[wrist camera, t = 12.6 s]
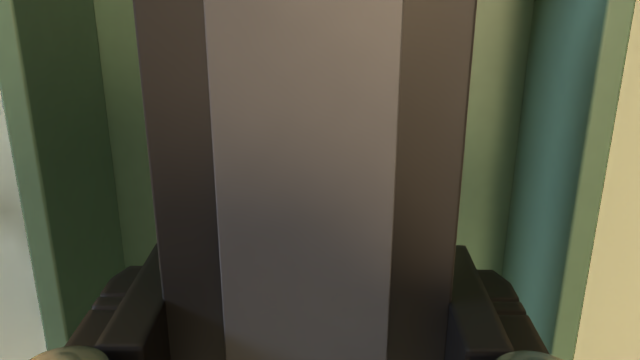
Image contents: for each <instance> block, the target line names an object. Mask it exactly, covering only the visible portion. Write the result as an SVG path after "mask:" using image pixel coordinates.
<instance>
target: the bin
mask: <svg viewBox="0 0 640 360" xmlns="http://www.w3.org/2000/svg"><path fill="white" fill-rule="evenodd" d="M635 1H636V0H477V10H476V22H475V33H474V45H473V56H472V68H471V80H470V91H469V103H468V114H467V126H466V137H465V149H464V160H463V172H462V183H461V195H460V206H459V218H458V229H457V241H456V245H465V246H466V248H467V250H468V252H469V254H470V256H471V258H472V260H473V263H474V265H475V267H476V269H477V270H494V271H495V272H496V273H498V274H499V275H500V276H502V277H503V278H504V279H506V280H507V281H508V282H510V283H511V285H512V287H513V288H514V290H515V292H516V294H517V296H518V297H519V302H521V303H522V305H523V307H524V308H525V310H526V315H528V316H529V317H530V319H531V321H532V323H533V325H534V327H535V328H536V330H537V332H538V334H539V336H540V337H541V339H542V341H543V343H544V345H545V347H546V348H547V350H548V352H549V354H550V355H553V356H556V357H558V358H560V359H563V360H573V359H574V353H575V347H576V341H577V336H578V330H579V324H580V318H581V312H582V307H583V301H584V295H585V289H586V284H587V278H588V272H589V266H590V261H591V255H592V249H593V243H594V237H595V232H596V226H597V220H598V214H599V209H600V203H601V197H602V191H603V186H604V180H605V174H606V168H607V163H608V157H609V151H610V145H611V139H612V134H613V128H614V122H615V116H616V111H617V105H618V99H619V93H620V88H621V82H622V76H623V70H624V64H625V59H626V53H627V47H628V41H629V36H630V30H631V24H632V18H633V13H634V7H635ZM0 90H1V96H2V101H3V107H4V113H5V118H6V124H7V129H8V135H9V141H10V146H11V152H12V157H13V163H14V168H15V174H16V180H17V185H18V191H19V196H20V202H21V208H22V213H23V219H24V224H25V230H26V236H27V241H28V247H29V252H30V258H31V263H32V269H33V275H34V280H35V286H36V291H37V297H38V303H39V308H40V314H41V319H42V325H43V330H44V336H45V342H46V347H47V351H49V350H52V349H55V348H60V347H64V346H65V345H66V343H67V342H68V340H69V339H70V337H71V336H72V334H73V333H74V332H75V330H76V329H77V327H78V326H79V324H80V323H81V321H82V320H83V318H84V317H85V315H86V314H87V312H88V311H89V310H91V308H92V307H91V306H92V305H93V304H94V302H95V301H96V299H97V298H98V297H100V293H101V292H102V290H103V289H104V287H105V286H106V284H107V283H108V281H109V280H110V279H111V278H112V277H114V276H115V275H117V274H118V273H120V272H121V271H123V270H124V269H126V268H127V267H129V266H143V264H144V263H145V261H146V259H147V258H148V256H149V254H150V253H151V251H152V249H153V248H154V246H155V245H156V243H157V238H156V228H155V218H154V208H153V198H152V188H151V178H150V169H149V159H148V149H147V139H146V129H145V119H144V110H143V100H142V90H141V80H140V70H139V60H138V50H137V41H136V31H135V21H134V11H133V1H132V0H0Z"/></svg>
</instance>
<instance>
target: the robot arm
mask: <svg viewBox="0 0 640 360" xmlns="http://www.w3.org/2000/svg"><path fill="white" fill-rule="evenodd" d="M91 307H92V308H91V310H89V311H88V312H87V314H86V315H85V317H84V318H83V320H82V321H81V323H80V324H79V326H78V327H77V329H76V330H75V332H74V333H73V334H72V336H71V337H70V339H69V340H68V342H67V343H66V345H65V346H64V347H60V348H55V349H52V350H49V351H46V352H43V353H41V354H39V355H37V356H35V357H33V358H31V359H30V360H171V357H170V346H169V336H168V326H167V316H166V306H165V300H163V297H162V287H161V277H160V267H159V257H158V247H157V243H156V245H155V246H154V248H153V249H152V251H151V253H150V254H149V256H148V258H147V259H146V261H145V263H144V264H143V266H129V267H127V268H126V269H124V270H123V271H121V272H120V273H118V274H117V275H115V276H114V277H112V278H111V279H110V280H109V281H108V283H107V284H106V286H105V287H104V289H103V290H102V292H101V293H100V297H98V298H97V299H96V301H95V302H94V304H93V305H92V306H91ZM444 360H563V359H560V358H558V357H556V356H553V355H550V354H549V352H548V350H547V348H546V347H545V345H544V343H543V341H542V339H541V337H540V336H539V334H538V332H537V330H536V328H535V327H534V325H533V323H532V321H531V319H530V317H529V316H528V315H526V310H525V308H524V307H523V305H522V303H521V302H519V297H518V296H517V294H516V292H515V290H514V288H513V287H512V285H511V283H510V282H508V281H507V280H506V279H504V278H503V277H502V276H500V275H499V274H498V273H496V272H495V271H494V270H477V269H476V267H475V265H474V263H473V260H472V258H471V256H470V254H469V252H468V250H467V248H466V246H465V245H456V252H455V264H454V276H453V287H452V299H451V303H449V312H448V324H447V335H446V347H445V358H444Z"/></svg>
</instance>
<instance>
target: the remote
mask: <svg viewBox="0 0 640 360" xmlns="http://www.w3.org/2000/svg"><path fill="white" fill-rule="evenodd" d="M132 1H133V11H134V21H135V31H136V41H137V50H138V60H139V70H140V80H141V90H142V100H143V110H144V119H145V129H146V139H147V149H148V159H149V169H150V178H151V188H152V198H153V208H154V218H155V228H156V238H157V247H158V257H159V267H160V277H161V287H162V297H163V300H165V306H166V316H167V326H168V336H169V346H170V357H171V360H444V358H445V347H446V335H447V324H448V312H449V303H451V299H452V287H453V276H454V264H455V252H456V241H457V229H458V218H459V206H460V195H461V183H462V172H463V160H464V149H465V137H466V126H467V114H468V103H469V91H470V80H471V68H472V56H473V45H474V33H475V22H476V10H477V0H132Z"/></svg>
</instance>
